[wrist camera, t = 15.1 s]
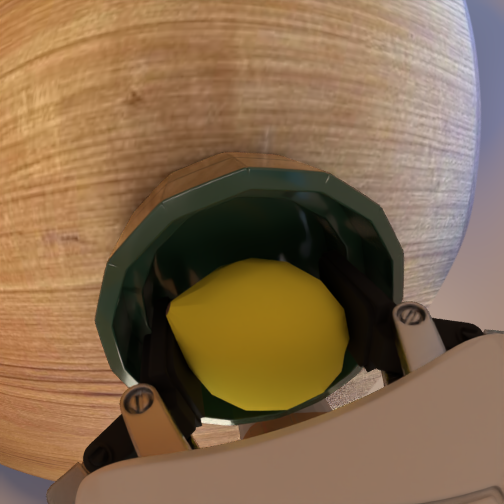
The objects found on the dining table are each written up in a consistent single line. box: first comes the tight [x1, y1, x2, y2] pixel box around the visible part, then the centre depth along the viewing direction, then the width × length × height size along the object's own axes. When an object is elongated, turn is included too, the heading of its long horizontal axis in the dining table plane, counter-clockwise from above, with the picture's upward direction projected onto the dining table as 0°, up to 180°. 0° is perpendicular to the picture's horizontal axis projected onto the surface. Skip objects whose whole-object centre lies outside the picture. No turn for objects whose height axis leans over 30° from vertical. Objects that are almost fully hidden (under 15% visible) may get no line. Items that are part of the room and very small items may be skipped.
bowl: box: [95, 152, 404, 426], centre depth 11 cm, size 11×11×5 cm
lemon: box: [166, 258, 350, 411], centre depth 10 cm, size 7×5×5 cm
